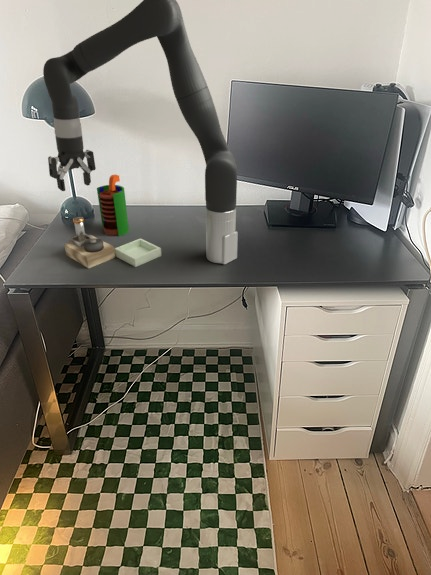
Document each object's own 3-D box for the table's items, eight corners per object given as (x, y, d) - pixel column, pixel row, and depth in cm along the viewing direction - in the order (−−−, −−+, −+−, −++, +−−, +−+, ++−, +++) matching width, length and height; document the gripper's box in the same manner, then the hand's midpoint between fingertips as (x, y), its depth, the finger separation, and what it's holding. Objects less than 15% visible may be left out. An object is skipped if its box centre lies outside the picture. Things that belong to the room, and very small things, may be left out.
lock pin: (89, 241, 148) (85, 218, 144) (80, 244, 146) (76, 221, 142) (83, 238, 150) (79, 215, 146) (74, 241, 148) (70, 218, 144)
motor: (97, 232, 164) (89, 178, 153) (112, 223, 171) (106, 171, 160) (119, 237, 160) (112, 182, 149) (134, 228, 167) (129, 175, 156)
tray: (161, 255, 148) (160, 248, 147) (135, 267, 142) (134, 259, 140) (141, 245, 154) (140, 238, 153) (115, 256, 148) (114, 248, 146)
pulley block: (115, 257, 147) (112, 238, 143) (88, 268, 141) (85, 248, 137) (91, 245, 155) (88, 226, 151) (65, 254, 149) (61, 235, 145)
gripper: (52, 139, 125) (60, 196, 133) (97, 132, 134) (101, 186, 142) (39, 134, 129) (47, 189, 137) (82, 128, 138) (88, 179, 146)
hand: (75, 187), depth 140 cm, fingers open, 8 cm apart
